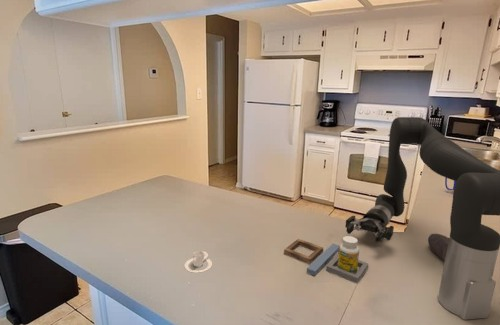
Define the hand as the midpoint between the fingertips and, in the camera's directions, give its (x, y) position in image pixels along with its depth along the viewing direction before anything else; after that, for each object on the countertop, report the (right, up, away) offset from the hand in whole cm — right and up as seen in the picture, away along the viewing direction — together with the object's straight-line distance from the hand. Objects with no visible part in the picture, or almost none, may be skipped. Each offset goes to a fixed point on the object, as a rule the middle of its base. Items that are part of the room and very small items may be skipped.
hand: (361, 235), depth 94 cm
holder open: (-7, -8, -7) cm, 13 cm away
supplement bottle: (-7, -8, -7) cm, 13 cm away
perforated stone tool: (+26, -7, 0) cm, 27 cm away
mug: (+70, +6, +58) cm, 91 cm away
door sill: (-12, -7, -2) cm, 14 cm away
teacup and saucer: (-47, -8, -5) cm, 48 cm away
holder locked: (-18, -6, +2) cm, 19 cm away
